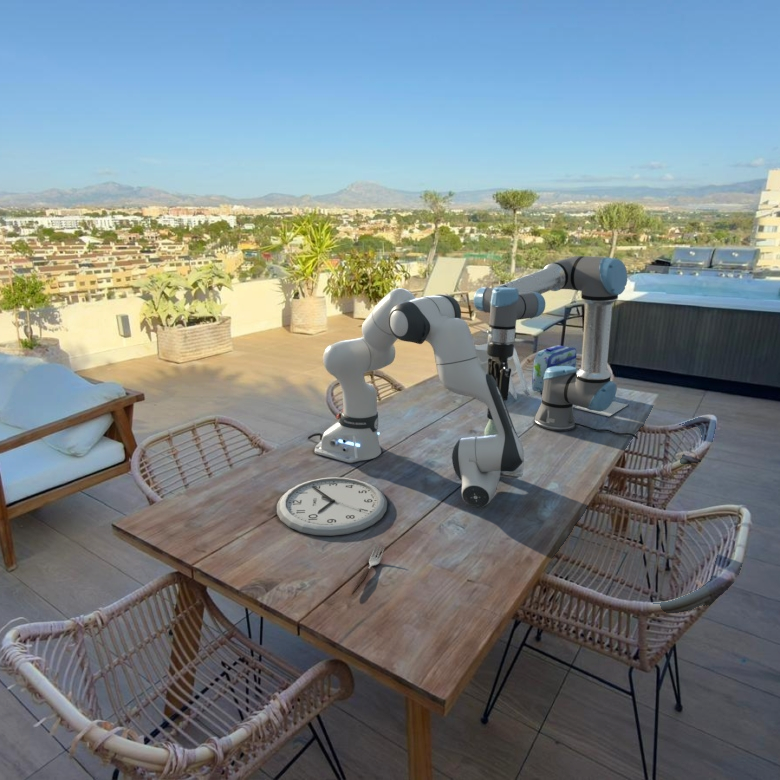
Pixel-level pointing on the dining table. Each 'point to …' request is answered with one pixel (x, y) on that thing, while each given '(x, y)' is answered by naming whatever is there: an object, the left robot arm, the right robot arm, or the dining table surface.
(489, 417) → the cap
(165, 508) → the dining table surface
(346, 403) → the left robot arm
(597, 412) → the invitation card
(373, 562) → the fork
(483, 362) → the white plastic object
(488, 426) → the bottle
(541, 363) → the lunch box
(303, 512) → the wall clock
